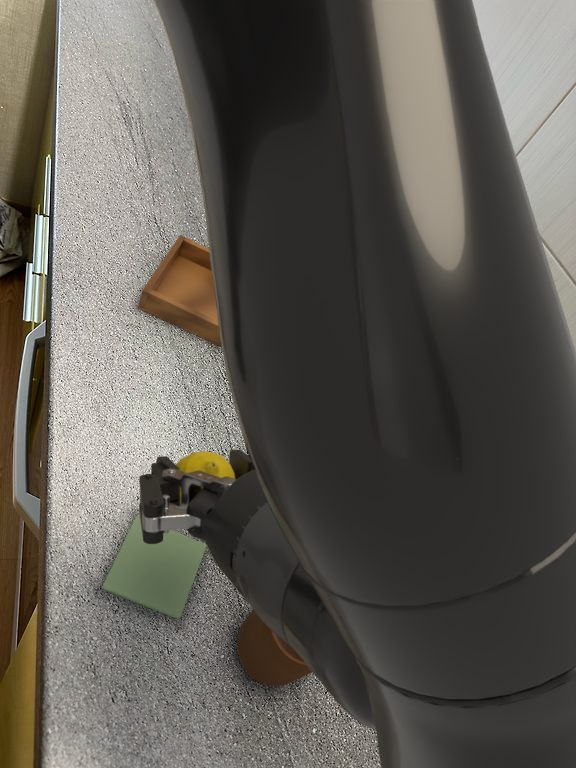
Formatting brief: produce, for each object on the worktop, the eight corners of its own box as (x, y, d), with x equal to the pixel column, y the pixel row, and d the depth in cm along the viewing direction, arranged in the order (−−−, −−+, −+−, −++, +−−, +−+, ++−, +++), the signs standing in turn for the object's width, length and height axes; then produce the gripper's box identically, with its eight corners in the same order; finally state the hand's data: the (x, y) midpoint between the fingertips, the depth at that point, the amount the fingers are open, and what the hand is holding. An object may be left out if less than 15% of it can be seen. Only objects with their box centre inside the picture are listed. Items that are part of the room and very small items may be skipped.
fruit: (223, 540, 48) (254, 499, 42) (156, 540, 46) (179, 497, 40) (218, 480, 51) (246, 434, 45) (155, 478, 49) (177, 429, 43)
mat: (101, 589, 55) (101, 587, 54) (135, 516, 60) (136, 514, 60) (178, 619, 56) (179, 618, 55) (205, 546, 61) (207, 544, 61)
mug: (235, 562, 61) (265, 528, 54) (301, 568, 64) (337, 536, 57) (234, 688, 54) (268, 666, 47) (308, 689, 56) (351, 669, 49)
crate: (137, 308, 77) (142, 289, 74) (175, 252, 86) (180, 234, 83) (230, 351, 78) (238, 335, 76) (257, 292, 87) (264, 275, 85)
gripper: (408, 474, 34) (279, 414, 49) (173, 506, 27) (105, 425, 42) (397, 590, 35) (275, 497, 50) (170, 649, 29) (105, 521, 43)
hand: (197, 465), depth 46 cm, fingers closed on fruit, 5 cm apart
